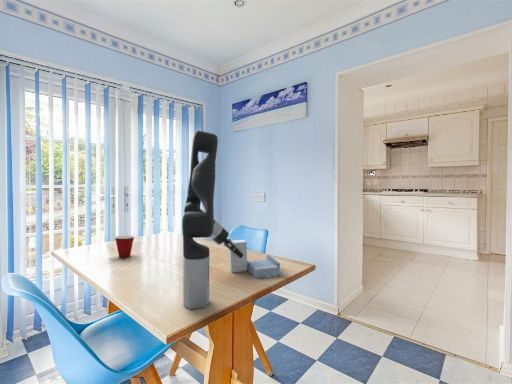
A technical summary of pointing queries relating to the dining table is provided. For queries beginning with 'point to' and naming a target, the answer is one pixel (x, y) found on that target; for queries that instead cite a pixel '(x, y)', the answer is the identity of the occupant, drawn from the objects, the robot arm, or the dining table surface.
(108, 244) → the dining table surface
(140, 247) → the dining table surface
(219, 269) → the dining table surface
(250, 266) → the tray
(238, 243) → the skincare box
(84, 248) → the dining table surface
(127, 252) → the plastic cup
